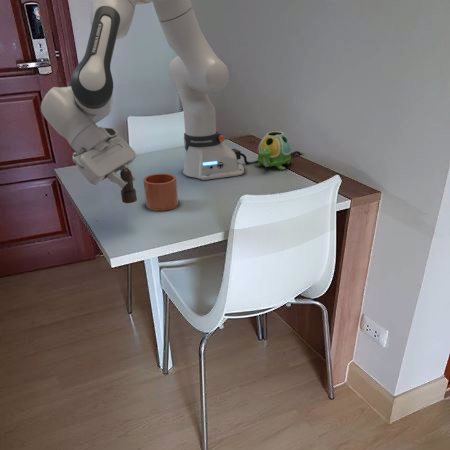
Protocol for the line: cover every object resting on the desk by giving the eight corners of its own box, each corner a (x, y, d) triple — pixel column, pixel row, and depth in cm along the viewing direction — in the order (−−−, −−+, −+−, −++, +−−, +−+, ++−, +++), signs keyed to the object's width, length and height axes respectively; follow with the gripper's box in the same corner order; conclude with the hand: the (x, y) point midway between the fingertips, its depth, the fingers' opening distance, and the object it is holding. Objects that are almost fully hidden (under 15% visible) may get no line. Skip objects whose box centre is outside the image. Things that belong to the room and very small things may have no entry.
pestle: (136, 197, 136) (132, 165, 132) (136, 202, 133) (132, 170, 128) (122, 198, 136) (117, 166, 131) (122, 203, 133) (117, 171, 128)
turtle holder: (246, 172, 180) (247, 139, 174) (265, 158, 194) (266, 127, 187) (278, 176, 175) (279, 142, 169) (295, 162, 189) (297, 130, 182)
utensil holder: (177, 198, 159) (175, 172, 154) (179, 209, 151) (177, 182, 146) (146, 200, 158) (143, 174, 153) (146, 212, 150) (143, 185, 145)
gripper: (74, 146, 119) (115, 189, 122) (117, 126, 135) (152, 164, 138) (63, 163, 123) (102, 204, 125) (105, 142, 139) (140, 178, 141)
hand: (129, 183), depth 132 cm, fingers closed on pestle, 3 cm apart
